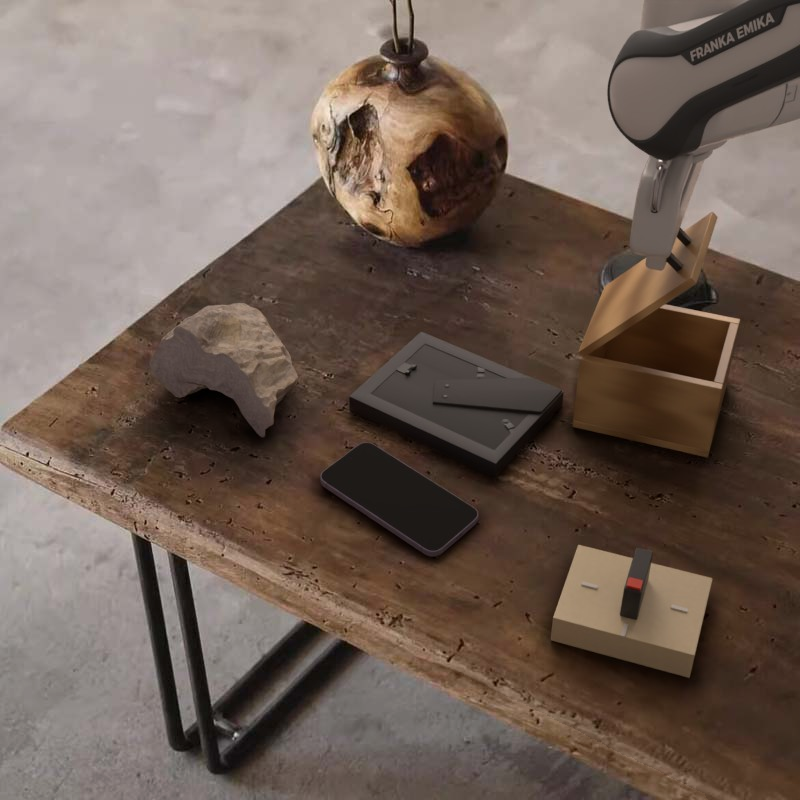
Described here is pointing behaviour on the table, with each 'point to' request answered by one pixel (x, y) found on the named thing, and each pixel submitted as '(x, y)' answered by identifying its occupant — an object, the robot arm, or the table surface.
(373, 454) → the smartphone
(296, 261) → the table surface
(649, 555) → the black red-tipped block
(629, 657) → the plate
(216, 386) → the rock
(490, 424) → the picture frame
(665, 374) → the chest
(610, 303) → the chest lid
